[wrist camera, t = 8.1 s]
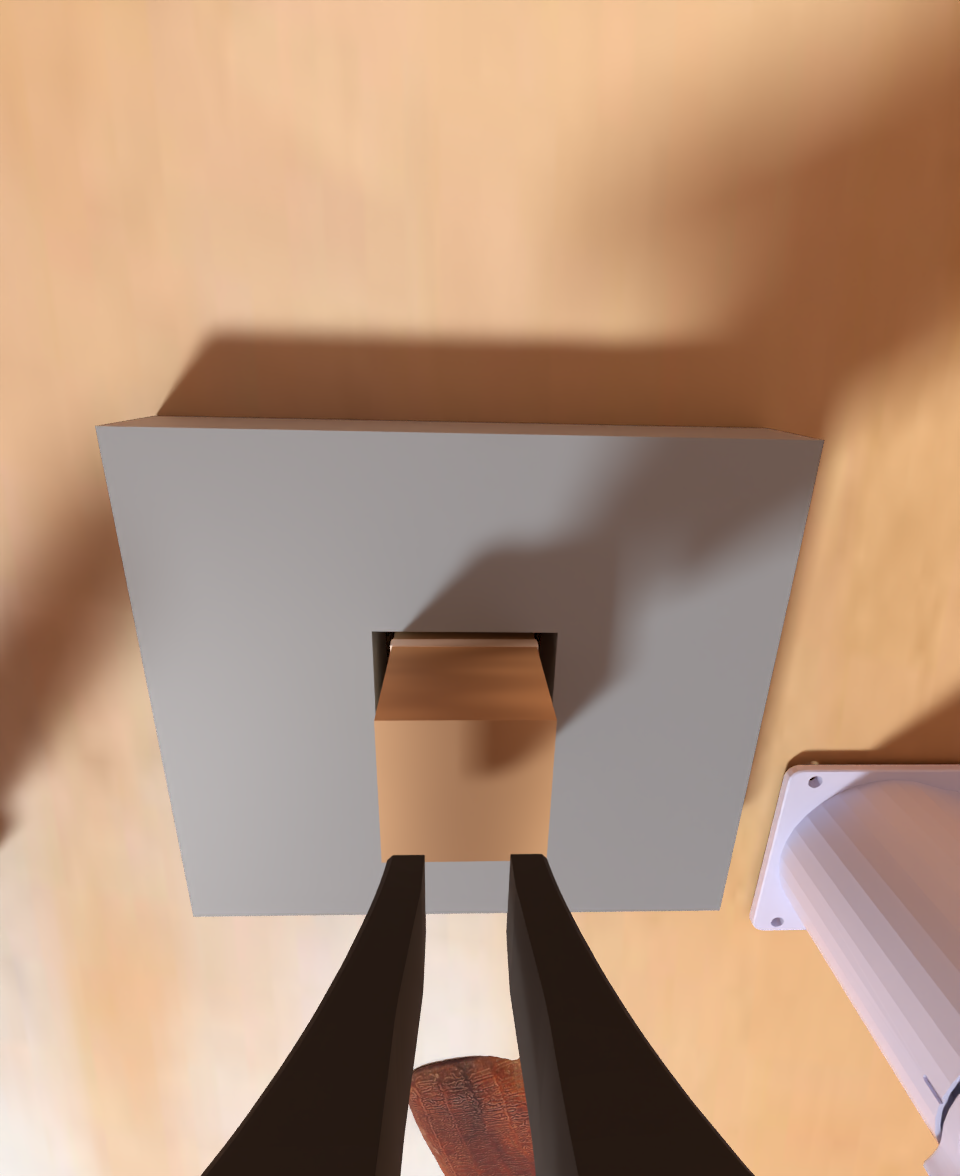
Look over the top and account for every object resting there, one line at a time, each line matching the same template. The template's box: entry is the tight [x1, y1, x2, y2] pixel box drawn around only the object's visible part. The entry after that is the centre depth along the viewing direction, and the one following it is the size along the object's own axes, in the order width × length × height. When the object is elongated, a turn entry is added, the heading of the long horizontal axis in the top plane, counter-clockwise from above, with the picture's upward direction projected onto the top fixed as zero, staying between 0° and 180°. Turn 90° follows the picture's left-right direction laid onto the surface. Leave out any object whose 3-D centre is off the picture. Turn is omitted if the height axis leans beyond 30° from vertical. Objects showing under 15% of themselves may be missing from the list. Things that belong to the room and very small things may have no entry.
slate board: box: [95, 416, 824, 917], centre depth 19 cm, size 18×16×3 cm
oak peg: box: [374, 632, 557, 863], centre depth 17 cm, size 4×4×7 cm
